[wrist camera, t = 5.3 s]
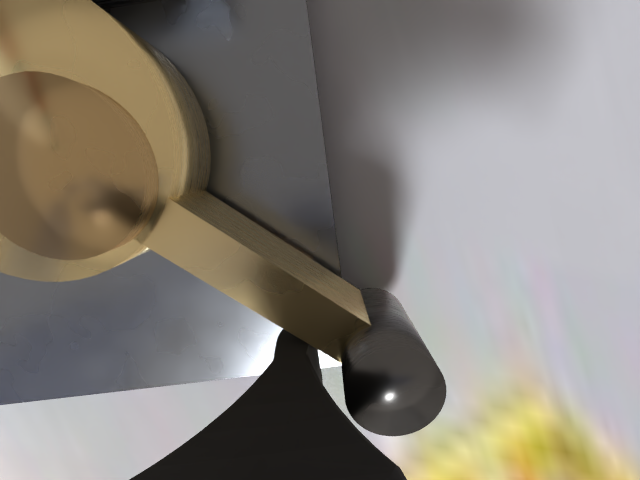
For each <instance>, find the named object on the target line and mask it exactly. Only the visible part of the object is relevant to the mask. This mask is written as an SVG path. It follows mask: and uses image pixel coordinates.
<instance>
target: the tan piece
mask: <svg viewBox="0 0 640 480" xmlns="http://www.w3.org/2000/svg"><path fill="white" fill-rule="evenodd" d="M210 163H211V151H210V140H209V135H208V130H207V125H206V122H205V119H204V116H203V113H202V110H201V108H200V105H199V103H198V101H197V99H196V97H195V95H194V93H193V91H192V90H191V88H190V86H189V85H188V83H187V82H186V80H185V79H184V77H183V76H182V75H181V74H180V72H179V71H178V70H177V68H176V67H175V66H174V65H173V64H172V63H171V62H170V61H169V60H168V59H167V58H166V57H165V56H164V55H163V54H162V53H161V52H160V51H158V50H157V49H156V48H155V47H153V46H152V45H151V44H150V43H148V42H147V41H146V40H144V39H143V38H141V37H140V36H139V35H137V34H136V33H135V32H133V31H132V30H131V29H129V28H128V27H126V26H125V25H124V24H122V23H121V22H120V21H118V20H117V19H116V18H114V17H113V16H112V15H110V14H109V13H107V12H106V11H105V10H103V9H102V8H101V7H99V6H98V5H97V4H95V3H94V2H92V1H91V0H0V272H2V273H4V274H7V275H11V276H15V277H19V278H23V279H28V280H36V281H44V282H64V281H72V280H79V279H83V278H87V277H91V276H95V275H97V274H100V273H102V272H104V271H107V270H109V269H112V268H114V267H116V266H118V265H120V264H122V263H124V262H126V261H129V260H131V259H133V258H135V257H137V256H139V255H141V254H143V253H146V252H148V251H150V250H152V251H154V252H156V253H158V254H159V255H161V256H163V257H164V258H166V259H168V260H169V261H171V262H173V263H174V264H176V265H178V266H179V267H181V268H183V269H184V270H186V271H188V272H189V273H191V274H193V275H194V276H196V277H198V278H199V279H201V280H203V281H204V282H206V283H208V284H209V285H211V286H213V287H214V288H216V289H218V290H219V291H221V292H223V293H224V294H226V295H228V296H229V297H231V298H233V299H234V300H236V301H238V302H239V303H241V304H243V305H244V306H246V307H248V308H249V309H251V310H253V311H254V312H256V313H258V314H259V315H261V316H263V317H264V318H266V319H268V320H269V321H271V322H273V323H274V324H276V325H278V326H279V327H281V328H283V329H284V330H286V331H288V332H289V333H291V334H293V335H294V336H296V337H298V338H300V339H301V340H303V341H305V342H306V343H308V344H310V345H311V346H313V347H315V348H316V349H318V350H320V351H321V352H323V353H325V354H326V355H328V356H330V357H331V358H333V359H335V360H336V361H338V362H340V363H341V365H342V375H343V384H344V394H345V402H346V406H347V409H348V411H349V413H350V415H351V416H352V418H353V419H354V420H355V421H356V422H357V423H358V424H359V425H360V426H362V427H363V428H365V429H366V430H368V431H370V432H373V433H376V434H379V435H385V436H401V435H406V434H410V433H413V432H416V431H418V430H420V429H422V428H424V427H425V426H427V425H428V424H429V423H431V422H432V421H433V420H434V419H435V418H436V416H437V415H438V414H439V412H440V411H441V409H442V407H443V405H444V402H445V398H446V384H445V380H444V377H443V375H442V373H441V371H440V369H439V368H438V366H437V364H436V363H435V361H434V359H433V358H432V356H431V354H430V352H429V351H428V349H427V347H426V346H425V344H424V342H423V341H422V339H421V337H420V336H419V334H418V332H417V330H416V329H415V327H414V325H413V324H412V322H411V320H410V319H409V317H408V315H407V314H406V312H405V310H404V308H403V307H402V305H401V303H400V302H399V301H398V299H397V298H396V297H395V296H393V295H392V294H391V293H389V292H387V291H385V290H381V289H376V288H368V289H362V290H359V289H357V288H356V287H354V286H353V285H351V284H350V283H348V282H346V281H345V280H343V279H342V278H340V277H339V276H337V275H336V274H334V273H332V272H331V271H329V270H328V269H326V268H325V267H323V266H322V265H320V264H318V263H317V262H315V261H314V260H312V259H311V258H309V257H308V256H306V255H304V254H303V253H301V252H300V251H298V250H297V249H295V248H294V247H292V246H290V245H289V244H287V243H286V242H284V241H283V240H281V239H280V238H278V237H276V236H275V235H273V234H272V233H270V232H269V231H267V230H266V229H264V228H262V227H261V226H259V225H258V224H256V223H255V222H253V221H252V220H250V219H248V218H247V217H245V216H244V215H242V214H241V213H239V212H238V211H236V210H234V209H233V208H231V207H230V206H228V205H227V204H225V203H224V202H222V201H220V200H219V199H217V198H216V197H214V196H213V195H211V194H210V193H208V192H206V188H207V185H208V180H209V174H210Z"/></svg>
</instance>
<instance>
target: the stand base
mask: <svg viewBox="0 0 640 480" xmlns="http://www.w3.org/2000/svg"><path fill="white" fill-rule="evenodd" d="M91 1H92V2H94V3H95V4H97V5H98V6H99V7H101V8H102V9H103V10H105V11H106V12H107V13H109V14H110V15H112V16H113V17H114V18H116V19H117V20H118V21H120V22H121V23H122V24H124V25H125V26H126V27H128V28H129V29H131V30H132V31H133V32H135V33H136V34H137V35H139V36H140V37H141V38H143V39H144V40H146V41H147V42H148V43H150V44H151V45H152V46H153V47H155V48H156V49H157V50H158V51H160V52H161V53H162V54H163V55H164V56H165V57H166V58H167V59H168V60H169V61H170V62H171V63H172V64H173V65H174V66H175V67H176V68H177V70H178V71H179V72H180V74H181V75H182V76H183V77H184V79H185V80H186V82H187V83H188V85H189V86H190V88H191V90H192V91H193V93H194V95H195V97H196V99H197V101H198V103H199V105H200V108H201V110H202V113H203V116H204V119H205V122H206V125H207V130H208V135H209V140H210V151H211V163H210V174H209V180H208V185H207V188H206V192H208V193H210V194H211V195H213V196H214V197H216V198H217V199H219V200H220V201H222V202H224V203H225V204H227V205H228V206H230V207H231V208H233V209H234V210H236V211H238V212H239V213H241V214H242V215H244V216H245V217H247V218H248V219H250V220H252V221H253V222H255V223H256V224H258V225H259V226H261V227H262V228H264V229H266V230H267V231H269V232H270V233H272V234H273V235H275V236H276V237H278V238H280V239H281V240H283V241H284V242H286V243H287V244H289V245H290V246H292V247H294V248H295V249H297V250H298V251H300V252H301V253H303V254H304V255H306V256H308V257H309V258H311V259H312V260H314V261H315V262H317V263H318V264H320V265H322V266H323V267H325V268H326V269H328V270H329V271H331V272H332V273H334V274H336V275H337V276H339V277H340V278H341V271H340V263H339V255H338V248H337V240H336V232H335V224H334V216H333V208H332V200H331V192H330V184H329V176H328V169H327V161H326V153H325V145H324V137H323V129H322V121H321V113H320V105H319V98H318V90H317V82H316V74H315V66H314V58H313V50H312V42H311V34H310V26H309V19H308V11H307V3H306V0H91ZM282 329H283V328H281V327H279V326H278V325H276V324H274V323H273V322H271V321H269V320H268V319H266V318H264V317H263V316H261V315H259V314H258V313H256V312H254V311H253V310H251V309H249V308H248V307H246V306H244V305H243V304H241V303H239V302H238V301H236V300H234V299H233V298H231V297H229V296H228V295H226V294H224V293H223V292H221V291H219V290H218V289H216V288H214V287H213V286H211V285H209V284H208V283H206V282H204V281H203V280H201V279H199V278H198V277H196V276H194V275H193V274H191V273H189V272H188V271H186V270H184V269H183V268H181V267H179V266H178V265H176V264H174V263H173V262H171V261H169V260H168V259H166V258H164V257H163V256H161V255H159V254H158V253H156V252H154V251H152V250H150V251H148V252H146V253H143V254H141V255H139V256H137V257H135V258H133V259H131V260H129V261H126V262H124V263H122V264H120V265H118V266H116V267H114V268H112V269H109V270H107V271H104V272H102V273H100V274H97V275H95V276H91V277H87V278H83V279H79V280H72V281H64V282H44V281H36V280H28V279H23V278H19V277H15V276H11V275H7V274H4V273H2V272H0V405H5V404H13V403H22V402H31V401H39V400H48V399H56V398H65V397H74V396H82V395H91V394H100V393H108V392H117V391H126V390H134V389H143V388H152V387H160V386H169V385H178V384H186V383H195V382H204V381H212V380H221V379H230V378H238V377H247V376H256V375H261V374H262V373H263V372H264V371H265V370H266V368H267V367H268V366H269V365H270V363H271V362H272V361H273V357H274V351H275V346H276V341H277V338H278V336H279V334H280V332H281V331H282ZM318 354H319V360H320V366H321V368H325V367H334V366H342V365H341V363H340V362H338V361H336V360H335V359H333V358H331V357H330V356H328V355H326V354H325V353H323V352H321V351H320V350H318Z"/></svg>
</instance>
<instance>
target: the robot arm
mask: <svg viewBox="0 0 640 480" xmlns="http://www.w3.org/2000/svg"><path fill="white" fill-rule="evenodd" d="M130 480H407V479H406V477H405V476H404V474H403V472H402V471H401V469H400V468H399V467H398V466H397V465H396V464H395V463H393V462H392V461H391V460H390V459H389V458H388V457H386V456H385V455H384V454H383V453H382V452H381V451H380V450H378V449H377V448H376V447H375V446H374V445H373V444H372V443H371V442H370V441H369V440H368V439H367V438H366V437H365V436H364V435H363V434H362V433H361V432H360V431H359V430H358V429H357V428H356V427H355V426H354V425H353V423H352V422H351V421H350V420H349V419H348V418H347V417H346V415H345V414H344V413H343V412H342V411H341V410H340V408H339V407H338V406H337V405H336V403H335V402H334V400H333V399H332V398H331V396H330V395H329V393H328V392H327V390H326V389H325V387H324V386H323V383H322V373H321V366H320V360H319V354H318V349H316V348H315V347H313V346H311V345H310V344H308V343H306V342H305V341H303V340H301V339H300V338H298V337H296V336H294V335H293V334H291V333H289V332H288V331H286V330H284V329H282V331H281V332H280V334H279V336H278V338H277V341H276V346H275V351H274V357H273V361H272V362H271V363H270V365H269V366H268V367H267V368H266V370H265V371H264V372H263V373H262V374H261V376H260V377H259V378H258V379H257V380H256V381H255V383H254V384H253V385H252V386H251V387H250V388H249V389H248V390H247V391H246V392H245V393H244V394H243V395H242V396H241V397H240V398H239V399H238V400H237V401H236V402H235V403H234V404H233V405H231V406H230V407H229V408H228V409H227V410H226V411H225V412H223V413H222V414H221V415H220V416H219V417H217V418H216V419H215V420H214V421H213V422H211V423H210V424H209V425H208V426H207V427H205V428H204V429H203V430H202V431H200V432H199V433H198V434H197V435H195V436H194V437H192V438H191V439H190V440H188V441H187V442H186V443H184V444H183V445H182V446H180V447H179V448H177V449H176V450H174V451H173V452H172V453H170V454H169V455H167V456H166V457H164V458H163V459H161V460H160V461H158V462H157V463H155V464H154V465H152V466H151V467H149V468H148V469H146V470H144V471H143V472H141V473H140V474H138V475H136V476H135V477H133V478H131V479H130Z"/></svg>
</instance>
